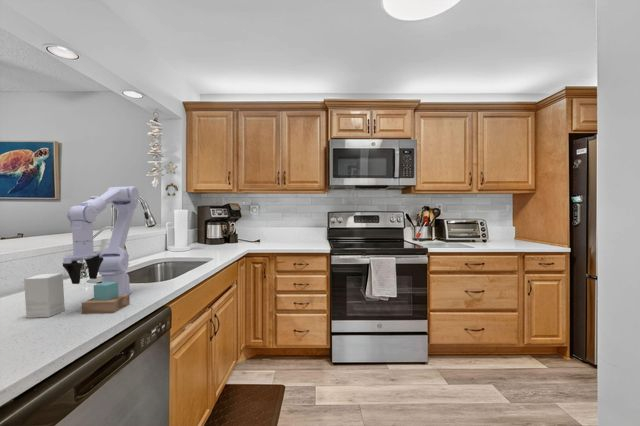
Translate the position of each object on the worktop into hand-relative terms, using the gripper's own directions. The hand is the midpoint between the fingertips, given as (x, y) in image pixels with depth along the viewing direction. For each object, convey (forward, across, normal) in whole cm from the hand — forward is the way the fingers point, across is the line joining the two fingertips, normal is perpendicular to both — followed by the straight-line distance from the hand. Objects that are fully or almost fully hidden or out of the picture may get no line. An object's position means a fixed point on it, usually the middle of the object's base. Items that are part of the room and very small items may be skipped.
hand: (84, 281), depth 118 cm
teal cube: (+6, 0, -7) cm, 9 cm away
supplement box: (+10, -6, +9) cm, 14 cm away
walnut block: (+10, 0, -8) cm, 12 cm away
